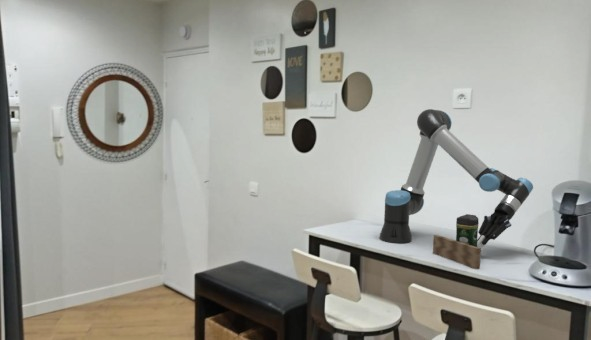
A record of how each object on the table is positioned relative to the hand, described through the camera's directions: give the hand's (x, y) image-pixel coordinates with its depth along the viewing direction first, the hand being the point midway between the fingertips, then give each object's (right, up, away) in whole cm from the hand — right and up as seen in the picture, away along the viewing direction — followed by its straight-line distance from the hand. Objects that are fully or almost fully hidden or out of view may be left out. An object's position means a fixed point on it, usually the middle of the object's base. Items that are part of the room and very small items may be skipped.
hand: (476, 249), depth 191 cm
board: (-11, -4, -4) cm, 12 cm away
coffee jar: (-5, -4, -2) cm, 7 cm away
